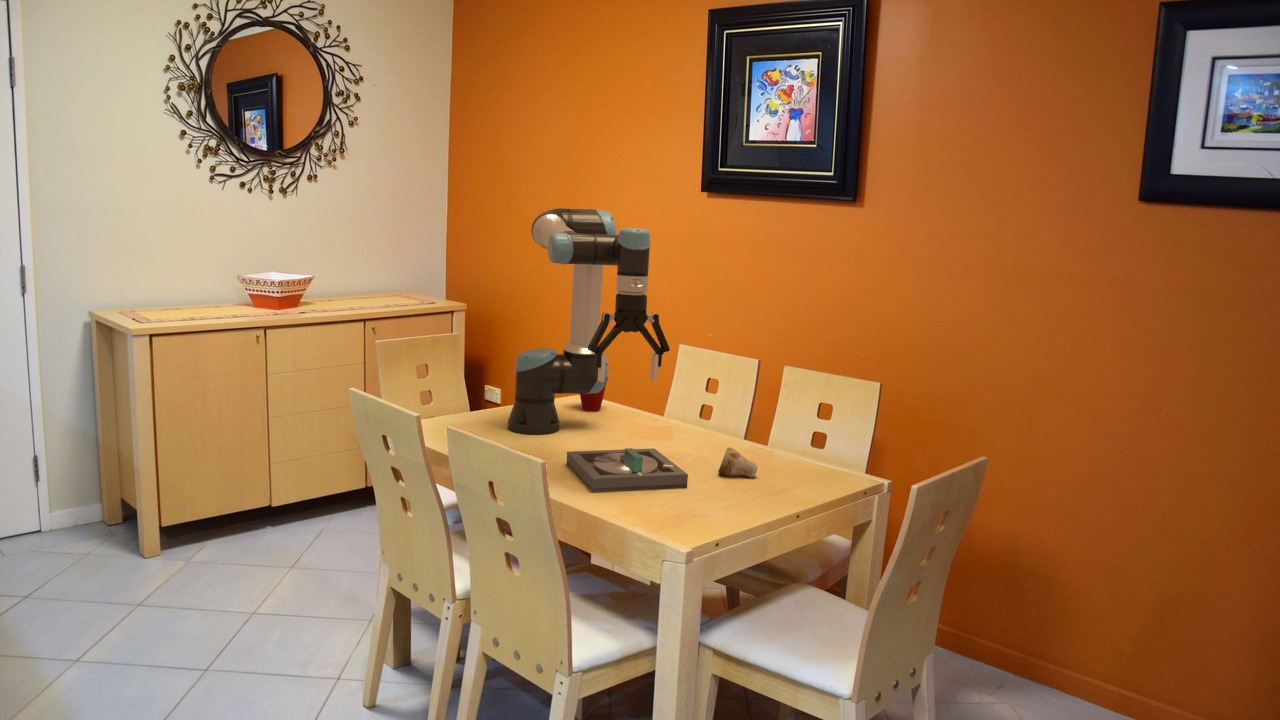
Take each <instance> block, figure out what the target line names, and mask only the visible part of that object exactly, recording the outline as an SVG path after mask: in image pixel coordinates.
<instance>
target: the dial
mask: <svg viewBox="0 0 1280 720" xmlns="http://www.w3.org/2000/svg"><path fill="white" fill-rule="evenodd" d="M624 449H625V451H624V453H609V454H603V455H599V456H597V457H596V458H595V459H594V467H593V468H594V469H595V470H596V471H597V472H598V473H599V474H600V475H616V474H637V473H657V466H658V462H657V461H656V460H655V459H653V458H651V457H648V456H644V455H640V454H639V453H637V452H636V451H635V450H634V449H635V448H632V447H629V448H628V447H627V448H624Z"/></svg>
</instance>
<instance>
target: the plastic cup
mask: <svg viewBox="0 0 1280 720" xmlns="http://www.w3.org/2000/svg"><path fill="white" fill-rule="evenodd" d="M609 378H610V375H609V374H607V379H606V383H605V385H604V387H603V389H602V390H601V391H600V392H598V393H589V394H579V395H580V397H579V398H580V402H581V403H580V404H581V409H583V410H584V412H587V411H598V412H599V410H600V411H601V408H602V403H603V399H604V395H605V390H606V386H607V383H608V382H607V381H608V379H609ZM583 410H582V411H583Z"/></svg>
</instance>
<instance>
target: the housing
mask: <svg viewBox="0 0 1280 720" xmlns="http://www.w3.org/2000/svg"><path fill="white" fill-rule="evenodd" d="M633 449H634V450H635V451H636V452H637V453H639V454H640V455H644V456H648V457H651V458H653V459H655V460H656V461H657V462H658V466H657V473H637V474H616V475H600V474H599V473H598V472H597V471H596V470H595V469H594V468H593V467H594V459H595V458H596V457H597V456H599V455H603V454H609V453H624V451H625V448H624V449H605V450H603V449H601V450H576V451H566V466H567V467H568V468H569V469H570V470H571V471H572V472H573V473H574V474H575V476H576V477H578V479H579V480H580V481H581V482H582V483H583V484H584V485H585V486H586V487H587V488H588V489H589V490H590V492H591V493H592V494H593V493H608V492H609V493H610V492H613V493H614V492H630V491H631V492H633V491H649V490H651V491H652V490H668V489H669V490H670V489H687V488H688V481H689V480H688V478H689V477H688V475H689V474H688V473H687V472H686V471H684V470H683V469H682V468H680V467H679V466H678V465H677V464H676V463H674V461H671V460H670V459H669V458H668V457H666V456H665V455H664V454H662V453H661V452H660V451H658V450H657V449H656V448H633Z"/></svg>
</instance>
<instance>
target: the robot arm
mask: <svg viewBox="0 0 1280 720" xmlns="http://www.w3.org/2000/svg"><path fill="white" fill-rule="evenodd" d="M530 230H531V231H530V232H531V236H532V239H533V240H534V242H535V243H536V244H537V245H538V246H539V247H541V248H542V249H546V250H547V255H548V260H549V261H550V262H551V263H552V264H560V265H573V266H572V267H573V270H572V286H571V288H572V290H571V304H570V318H569V319H570V321H569V337H568V338H569V339H568V343H566V345H565V346H563V348H562V349H563V351H562V353H561V354H558V352H557V350H555V349H554V348H543V347H542V348H534V349H528V350H525V351H521V352H520V353H519V354H518V355H517V357H516V361H515V368H514V371H515V376H514V377H515V381H514V382H515V384H514V401H513V402H514V404H513V406H512V409H511V411H510V414H509V416H508V418H507V419H508V420H507V429H508V430H509V431H512V432H515V433H519V434H524V435H548V434H552V433H553V434H554V433H557V432H558V431H559V430H560V419H559V415H558V412H557V411H558V410H557V409H556V404H555V399H556V398H555V396H556V394H557V395H559V394H562V395H565V394H568V395H569V394H574V395H575V394H577V395H580V394H589V393H598V392H600V391H601V390H602V389H603V387H604V385H605V383H606V379H607V374H608V373H609V366H608V365H609V360H608V356H607V355H606V354H604V352H605V351H606V349H608V347H609V346H610V345H611V344H612V342H613V341H614V340H615V339H616V338H617V337H618V336H619V335H620V334H621V333H622V332H624V333H630V332H633V333H638V332H639V333H640V334H641V335H642V336H643V338H644V339H645V341H646V342H647V343H648V344H649V345H648V346H650V348H652V350H653V352H651V356H650V357H651V358H650V359H651V361H650V377H649V378H650V380H651V381H652V382H658V373H659V371H658V369H659V368H661V367H662V359H663V355H664V354H665V353H667V352H669V351H670V349H671V348H670V346H669V344H668V341H667V338H666V336H665V334H664V332H663V329H662V327H661V325H660V316H659V314H657V313H655V312H652V313H650V314H647V307H648V295H647V294H646V293H648V285H649V284H648V283H649V266H650V250H651V249H650V247H651V233H650V231H649V230H648V229H646V228H633V227H632V228H628V227H622V228H620V229H619V231H618V234H617V226H616V222H615V219H614V217H613V215H612V213H611V212H609V211H608V210H600V209H591V208H588V209H586V208H585V209H584V208H564V207H563V208H562V207H560V208H552V209H549V210H548V209H547V210H546V211H543V212H542V213H539V214H538V215H537V217H536V218H534V220H533V222H532V224H531V229H530ZM604 266H617V267H616V269H617V270H616V283H615V286H616V287H615V291H616V292H617V293H616V295H615V305H614V306H615V307H614V308H615V311H614V314H613V313H608V312H603V313H602V315H601V305H602V293H603V292H602V289H603V274H604ZM612 321H614V322H615V324H614V325H613V327H612V328H611V330H610V331H609V333H608V334H607V335H606V336H605V337H604V338H603V336H604V335H605V332H606V330H607V329H608V326H609V324H610V323H612ZM647 321H648V322H649V323H651V327H652V329H653V332H654V334H655V336H656V338H657V339H656V340H657V341H656V340H655V339H654V337H653V336H652V334H651V333H650V331H649V330H648V328H647V327H646V326H645V324H646V323H647ZM602 338H603V339H602ZM608 375H609V374H608ZM607 380H608V379H607ZM606 384H607V383H606Z"/></svg>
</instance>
